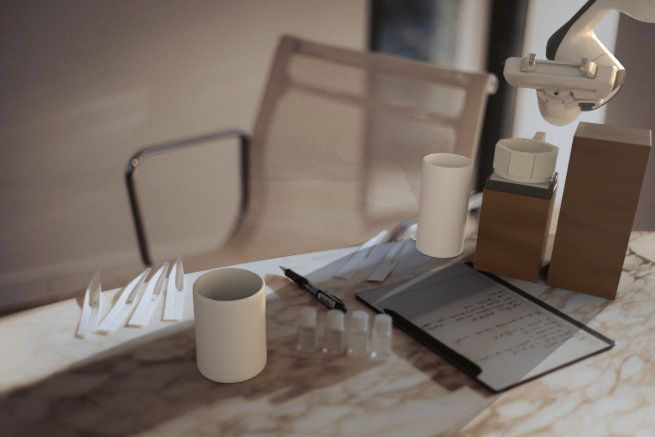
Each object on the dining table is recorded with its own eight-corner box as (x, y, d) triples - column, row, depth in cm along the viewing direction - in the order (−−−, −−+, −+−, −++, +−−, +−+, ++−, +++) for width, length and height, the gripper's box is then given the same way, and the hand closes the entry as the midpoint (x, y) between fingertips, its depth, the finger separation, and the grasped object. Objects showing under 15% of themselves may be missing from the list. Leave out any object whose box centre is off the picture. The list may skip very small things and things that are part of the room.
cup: (437, 262, 104) (447, 171, 97) (405, 244, 110) (412, 157, 104) (472, 251, 108) (484, 163, 102) (440, 234, 114) (449, 150, 108)
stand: (486, 245, 110) (504, 112, 101) (617, 272, 102) (650, 129, 93) (472, 269, 102) (491, 125, 92) (614, 300, 93) (651, 146, 84)
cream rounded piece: (513, 143, 114) (517, 119, 112) (565, 150, 111) (569, 125, 109) (488, 176, 96) (492, 148, 94) (548, 186, 92) (554, 157, 91)
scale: (497, 170, 105) (499, 160, 104) (557, 180, 101) (559, 169, 100) (485, 188, 96) (486, 177, 96) (549, 199, 93) (551, 188, 92)
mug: (277, 373, 75) (276, 293, 71) (207, 391, 72) (202, 309, 67) (245, 323, 85) (242, 251, 81) (182, 337, 82) (177, 262, 77)
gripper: (509, 67, 130) (503, 38, 117) (616, 76, 122) (621, 47, 109) (503, 95, 129) (496, 70, 117) (609, 107, 121) (614, 81, 109)
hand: (557, 59), depth 113 cm, fingers open, 8 cm apart
